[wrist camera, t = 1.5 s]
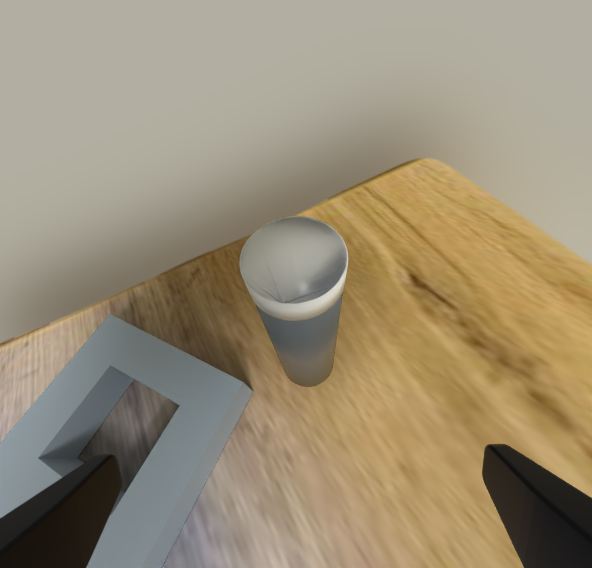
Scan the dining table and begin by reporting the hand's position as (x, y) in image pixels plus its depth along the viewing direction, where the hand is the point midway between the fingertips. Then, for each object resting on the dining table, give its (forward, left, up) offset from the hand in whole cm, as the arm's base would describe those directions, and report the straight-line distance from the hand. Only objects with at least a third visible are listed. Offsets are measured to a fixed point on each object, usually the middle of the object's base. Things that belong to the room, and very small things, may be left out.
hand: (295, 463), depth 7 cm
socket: (-4, +11, -12) cm, 17 cm away
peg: (+5, +3, -12) cm, 14 cm away
